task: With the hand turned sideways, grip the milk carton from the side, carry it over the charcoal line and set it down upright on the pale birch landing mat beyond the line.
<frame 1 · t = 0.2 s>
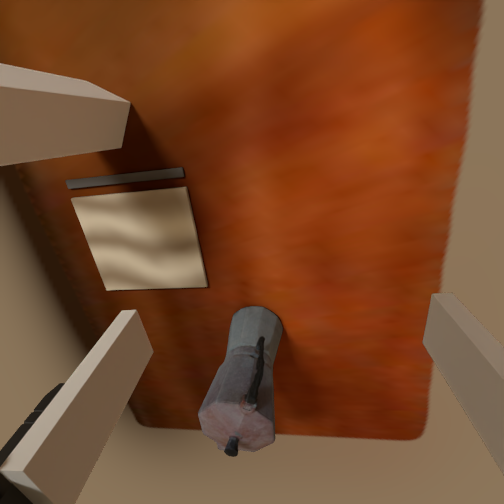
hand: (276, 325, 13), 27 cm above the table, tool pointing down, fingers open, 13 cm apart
milk: (105, 115, 36), on the table
moka pot: (256, 322, 47), on the table
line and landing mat: (123, 178, 39), on the table
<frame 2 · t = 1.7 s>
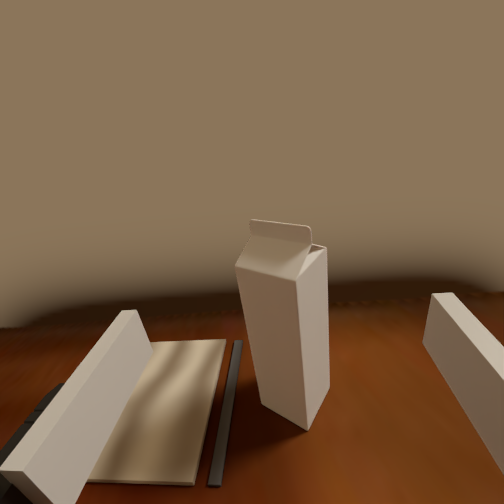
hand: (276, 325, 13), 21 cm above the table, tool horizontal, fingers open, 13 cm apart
milk: (296, 397, 33), on the table
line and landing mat: (229, 396, 34), on the table
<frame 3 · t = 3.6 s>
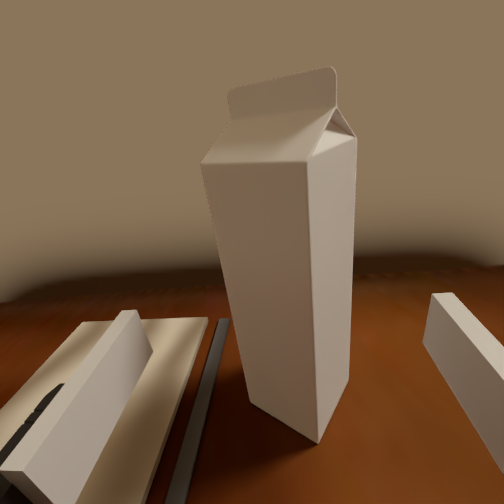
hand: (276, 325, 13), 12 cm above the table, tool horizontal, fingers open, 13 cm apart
milk: (300, 393, 23), on the table
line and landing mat: (205, 391, 24), on the table
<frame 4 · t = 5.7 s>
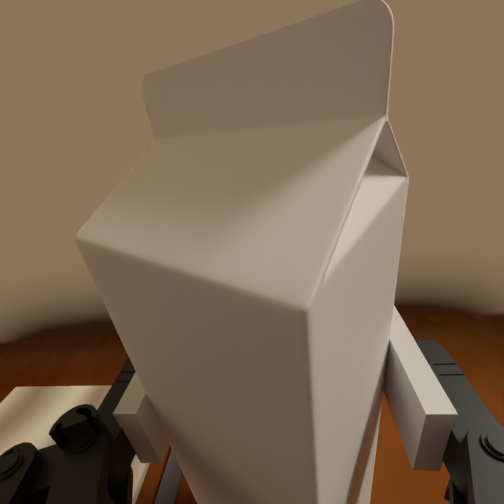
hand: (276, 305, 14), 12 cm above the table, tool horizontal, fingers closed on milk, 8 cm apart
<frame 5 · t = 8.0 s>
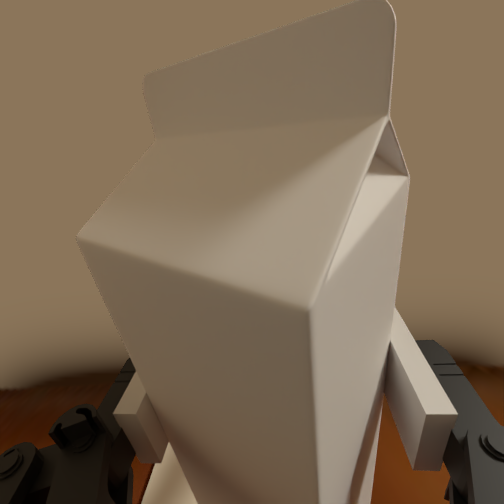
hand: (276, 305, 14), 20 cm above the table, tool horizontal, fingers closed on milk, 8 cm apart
when the fingers open (14 cm above the table, at t = 10.2 s): milk drops 1 cm, resting on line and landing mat.
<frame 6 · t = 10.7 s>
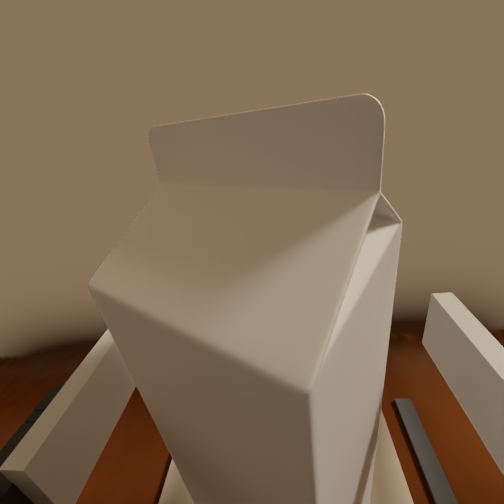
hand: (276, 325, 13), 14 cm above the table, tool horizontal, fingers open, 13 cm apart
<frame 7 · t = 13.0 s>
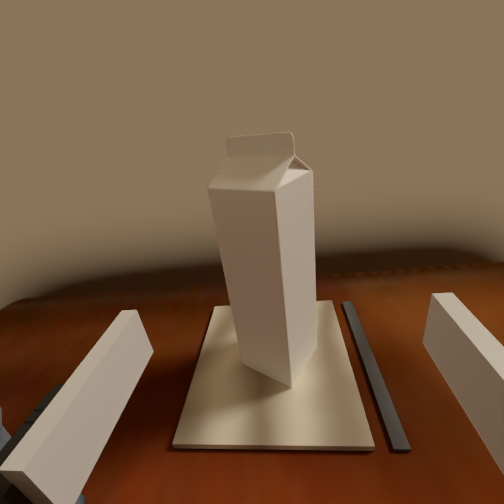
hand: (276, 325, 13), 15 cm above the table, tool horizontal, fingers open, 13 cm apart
milk: (280, 356, 30), resting on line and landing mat
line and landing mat: (366, 356, 29), on the table
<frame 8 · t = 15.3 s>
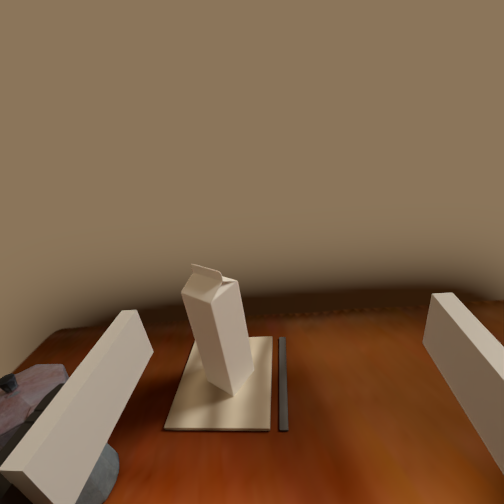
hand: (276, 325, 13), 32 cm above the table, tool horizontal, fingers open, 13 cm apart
milk: (231, 376, 48), resting on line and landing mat
moka pot: (89, 484, 37), on the table
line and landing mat: (283, 376, 47), on the table
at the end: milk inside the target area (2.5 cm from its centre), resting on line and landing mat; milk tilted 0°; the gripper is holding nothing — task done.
